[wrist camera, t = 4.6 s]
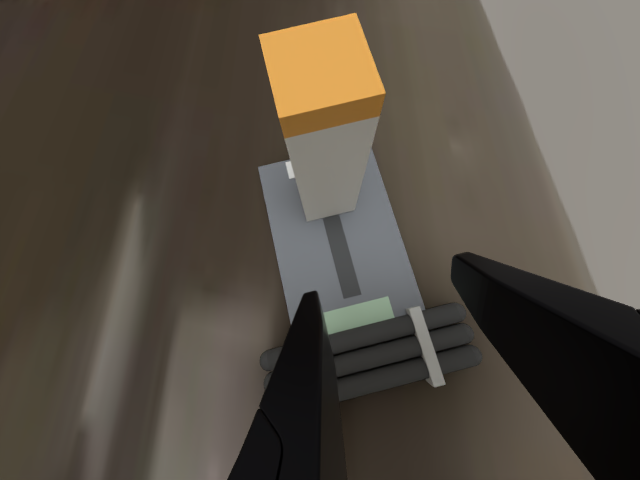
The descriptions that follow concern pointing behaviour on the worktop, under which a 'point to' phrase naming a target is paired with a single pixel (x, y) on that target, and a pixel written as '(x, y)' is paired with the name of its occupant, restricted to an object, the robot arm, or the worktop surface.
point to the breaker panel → (340, 252)
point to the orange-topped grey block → (325, 108)
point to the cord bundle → (398, 351)
